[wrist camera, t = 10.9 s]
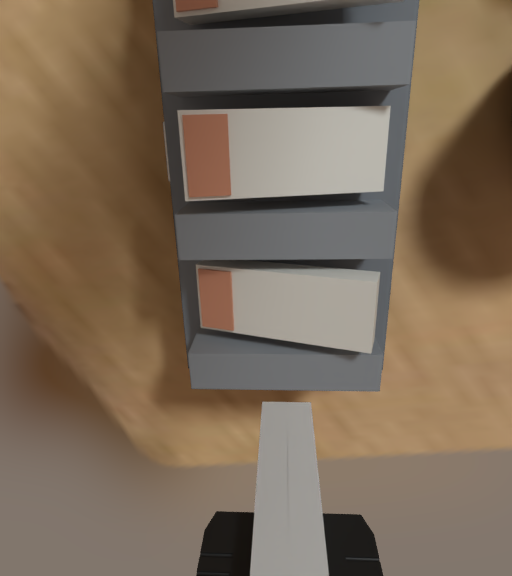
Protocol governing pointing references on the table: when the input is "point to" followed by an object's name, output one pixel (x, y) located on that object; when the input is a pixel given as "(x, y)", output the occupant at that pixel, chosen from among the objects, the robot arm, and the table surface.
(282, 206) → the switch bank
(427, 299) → the table surface
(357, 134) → the block
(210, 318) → the rocker
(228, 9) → the rocker
